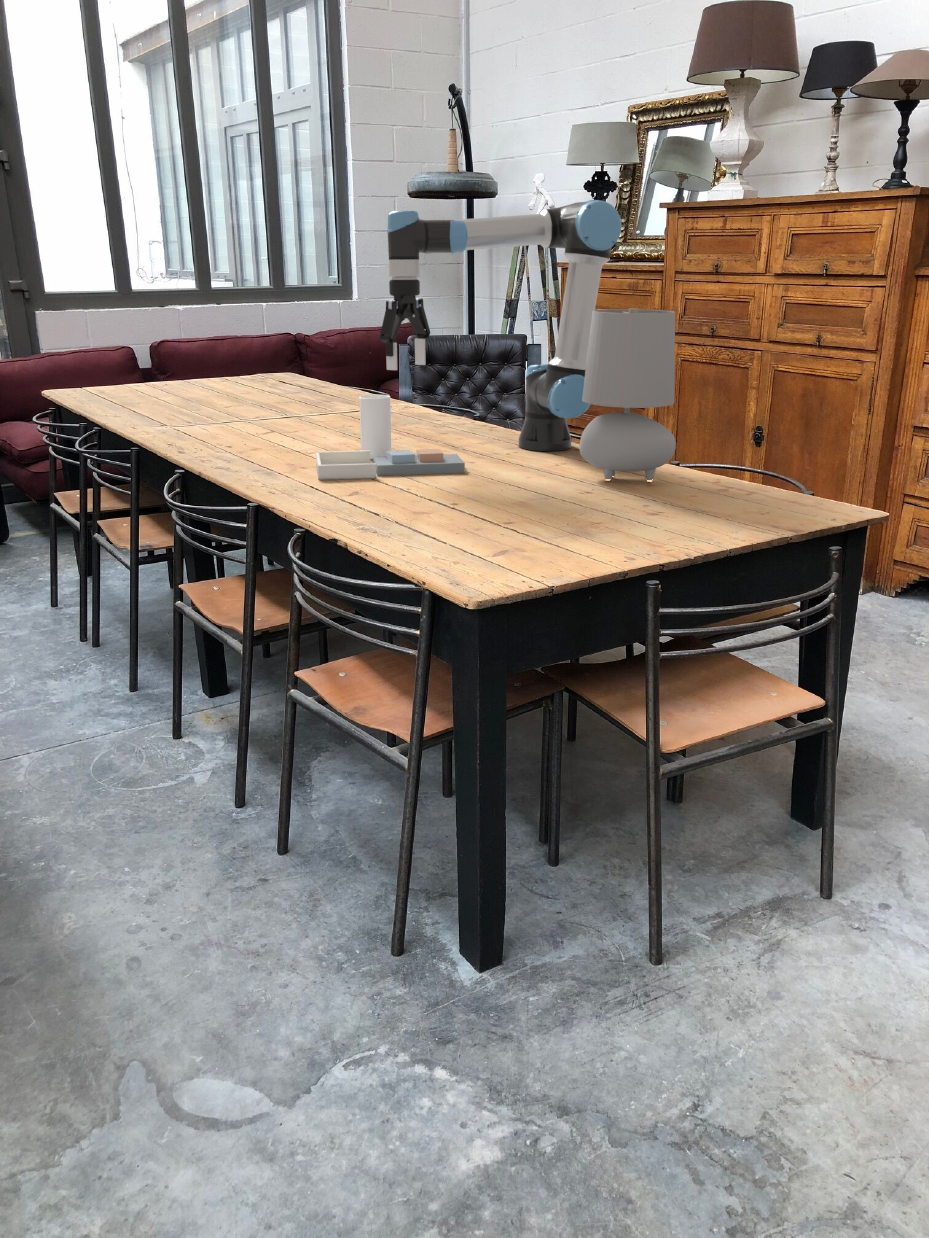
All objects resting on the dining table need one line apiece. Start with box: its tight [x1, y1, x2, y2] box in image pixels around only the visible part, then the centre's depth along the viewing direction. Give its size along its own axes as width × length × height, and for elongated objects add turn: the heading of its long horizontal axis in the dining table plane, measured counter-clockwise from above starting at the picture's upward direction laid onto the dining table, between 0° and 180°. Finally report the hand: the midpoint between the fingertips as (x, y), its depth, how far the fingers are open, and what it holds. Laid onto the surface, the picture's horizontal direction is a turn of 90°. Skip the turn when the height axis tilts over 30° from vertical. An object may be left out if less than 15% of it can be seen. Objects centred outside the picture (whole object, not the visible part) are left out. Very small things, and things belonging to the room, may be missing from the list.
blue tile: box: [386, 449, 416, 463], centre depth 244 cm, size 6×6×2 cm
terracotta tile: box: [416, 448, 444, 462], centre depth 246 cm, size 6×6×2 cm
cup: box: [358, 394, 392, 460], centre depth 259 cm, size 8×8×16 cm
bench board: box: [372, 453, 466, 477], centre depth 246 cm, size 22×12×2 cm, turn 100°
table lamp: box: [579, 307, 677, 480], centre depth 228 cm, size 23×22×40 cm
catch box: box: [315, 450, 377, 481], centre depth 243 cm, size 14×18×4 cm
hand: (406, 367), depth 245 cm, fingers open, 13 cm apart
